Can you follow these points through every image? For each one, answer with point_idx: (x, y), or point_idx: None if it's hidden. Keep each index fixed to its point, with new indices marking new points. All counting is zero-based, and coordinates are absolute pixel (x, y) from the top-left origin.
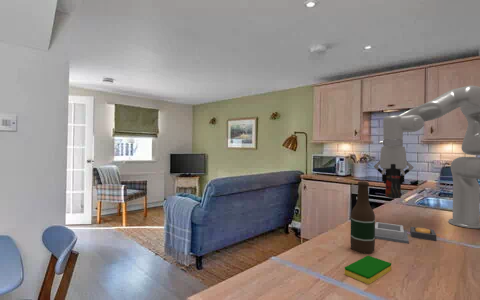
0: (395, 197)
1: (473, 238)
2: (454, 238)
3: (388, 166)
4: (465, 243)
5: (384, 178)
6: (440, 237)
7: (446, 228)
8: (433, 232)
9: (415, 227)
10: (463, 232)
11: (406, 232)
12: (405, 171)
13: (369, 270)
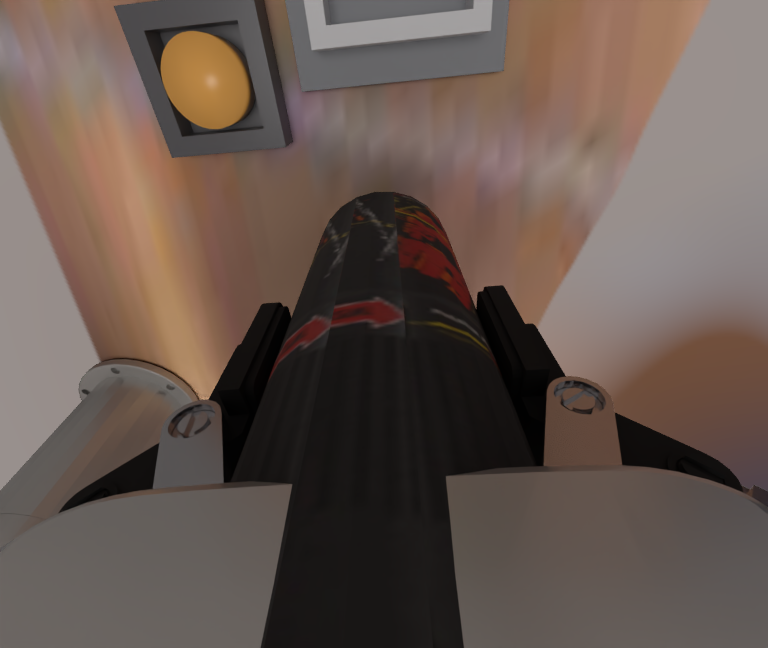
0: (357, 200)
1: (43, 207)
2: (95, 148)
3: (528, 535)
4: (21, 73)
5: (514, 326)
6: (147, 120)
7: (179, 311)
8: (150, 77)
9: (258, 142)
10: (109, 286)
11: (295, 41)
12: (141, 487)
13: None
